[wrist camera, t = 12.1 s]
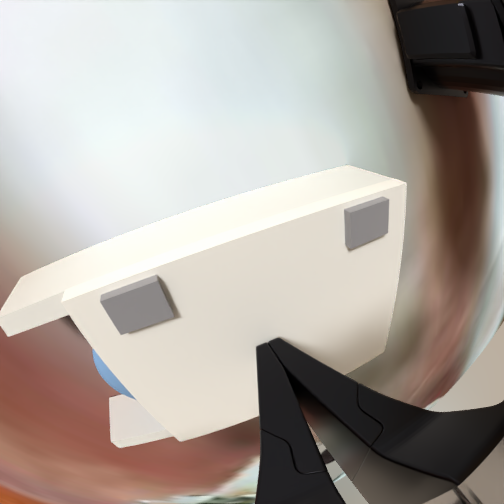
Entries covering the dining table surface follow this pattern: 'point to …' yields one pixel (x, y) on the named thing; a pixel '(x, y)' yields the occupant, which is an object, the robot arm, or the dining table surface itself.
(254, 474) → the dining table surface
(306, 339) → the cover
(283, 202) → the white channel bracket
